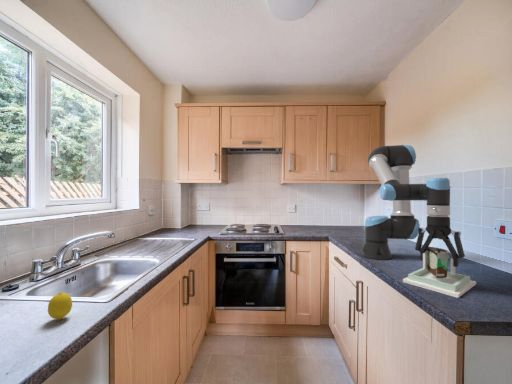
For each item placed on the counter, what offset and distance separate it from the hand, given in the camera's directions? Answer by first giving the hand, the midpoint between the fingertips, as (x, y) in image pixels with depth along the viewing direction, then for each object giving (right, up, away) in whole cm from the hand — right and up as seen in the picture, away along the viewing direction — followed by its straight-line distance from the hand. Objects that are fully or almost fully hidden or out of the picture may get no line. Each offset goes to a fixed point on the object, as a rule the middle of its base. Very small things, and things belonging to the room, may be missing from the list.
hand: (438, 271), depth 96 cm
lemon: (-132, -6, -26) cm, 135 cm away
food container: (0, -1, 0) cm, 2 cm away
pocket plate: (0, -5, 0) cm, 5 cm away
